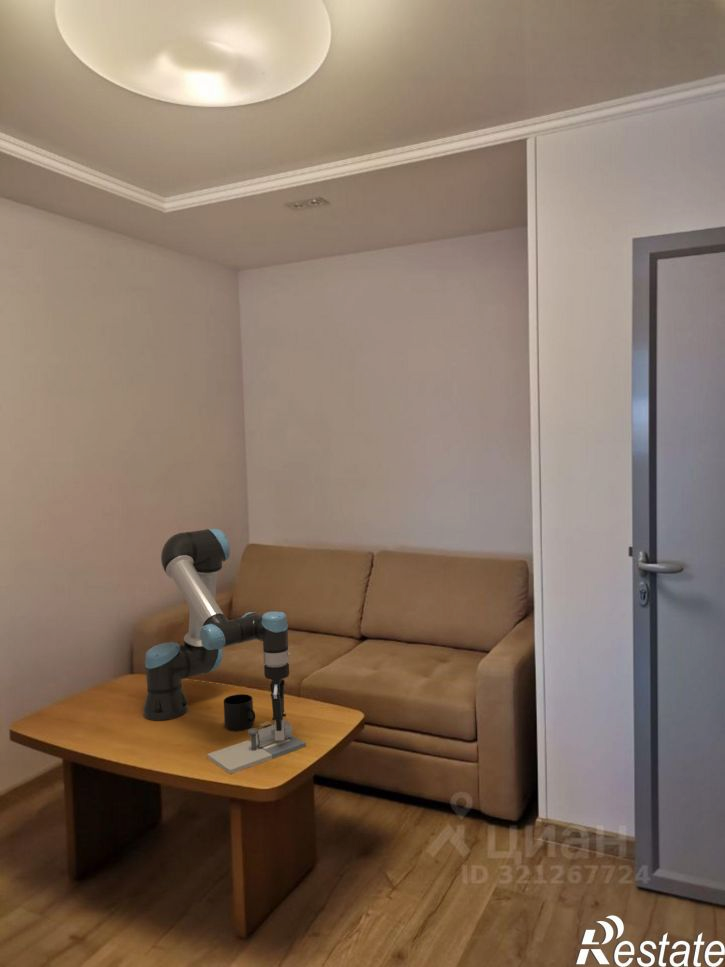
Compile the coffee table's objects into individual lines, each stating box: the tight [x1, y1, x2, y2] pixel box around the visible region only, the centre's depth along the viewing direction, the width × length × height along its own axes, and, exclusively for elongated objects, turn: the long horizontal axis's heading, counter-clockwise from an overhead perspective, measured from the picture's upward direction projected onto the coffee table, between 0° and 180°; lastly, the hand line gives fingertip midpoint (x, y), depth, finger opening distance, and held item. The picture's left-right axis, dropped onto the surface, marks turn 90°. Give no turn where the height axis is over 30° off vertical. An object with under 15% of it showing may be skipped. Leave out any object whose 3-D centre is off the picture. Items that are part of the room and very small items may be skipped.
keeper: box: [259, 721, 273, 730], centre depth 227 cm, size 2×3×5 cm
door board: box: [206, 727, 306, 775], centre depth 221 cm, size 14×26×7 cm, turn 129°
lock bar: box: [256, 720, 293, 747], centre depth 225 cm, size 11×4×4 cm, turn 131°
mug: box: [223, 693, 256, 732], centre depth 241 cm, size 9×12×9 cm
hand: (279, 739), depth 223 cm, fingers closed
